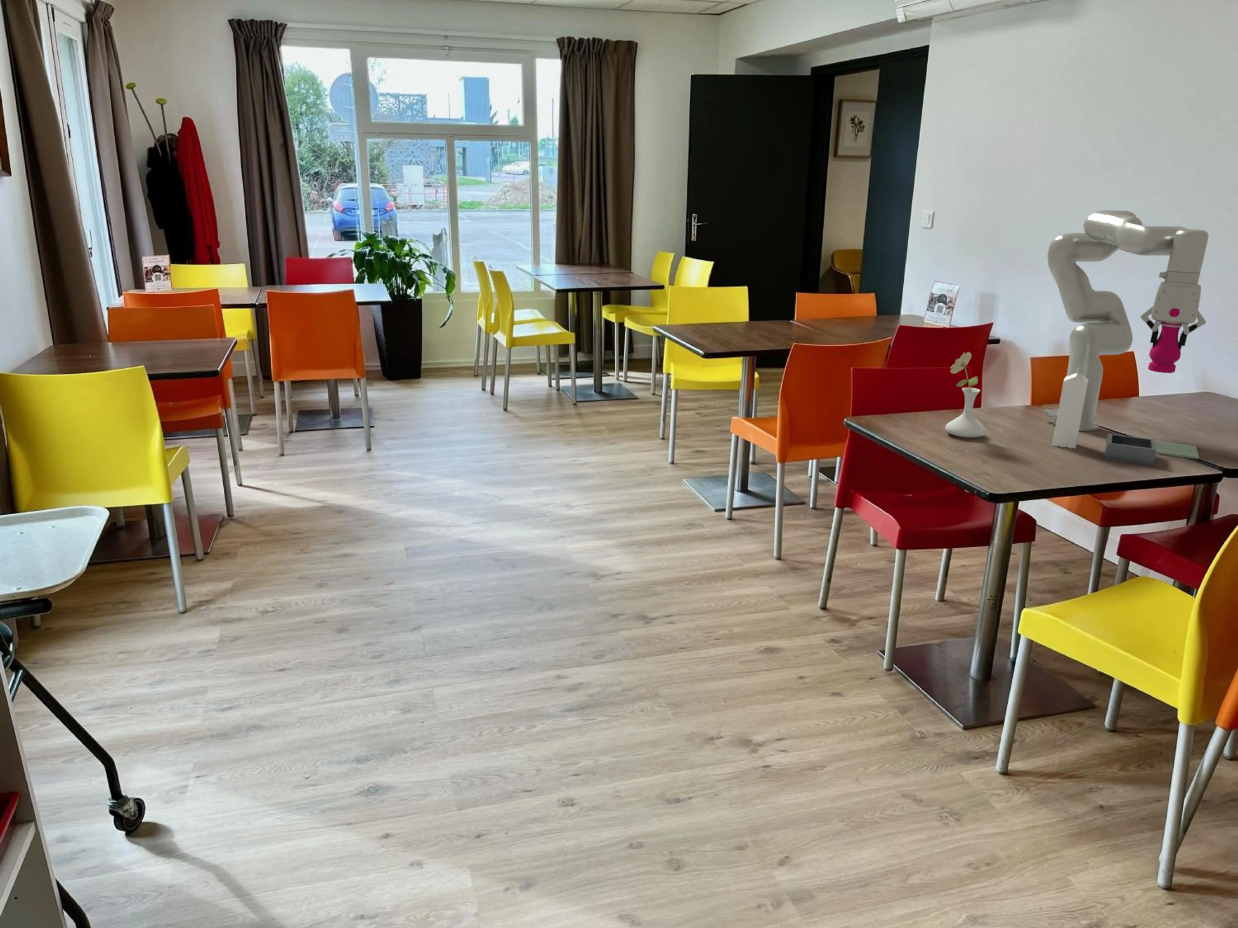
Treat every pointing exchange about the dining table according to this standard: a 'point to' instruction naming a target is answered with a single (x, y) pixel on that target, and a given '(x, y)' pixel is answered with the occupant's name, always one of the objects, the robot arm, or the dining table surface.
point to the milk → (1070, 411)
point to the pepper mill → (1166, 347)
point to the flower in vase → (966, 405)
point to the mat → (1176, 449)
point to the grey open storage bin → (1130, 449)
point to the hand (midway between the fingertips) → (1166, 346)
